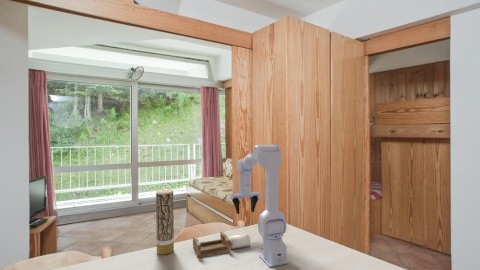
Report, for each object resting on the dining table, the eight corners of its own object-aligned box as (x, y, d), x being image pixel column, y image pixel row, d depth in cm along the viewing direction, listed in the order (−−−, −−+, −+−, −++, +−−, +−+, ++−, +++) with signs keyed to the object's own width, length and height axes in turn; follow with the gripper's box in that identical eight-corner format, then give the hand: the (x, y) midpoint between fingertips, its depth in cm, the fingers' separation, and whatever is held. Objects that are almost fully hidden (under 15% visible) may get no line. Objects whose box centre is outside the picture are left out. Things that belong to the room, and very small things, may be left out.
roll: (250, 247, 110) (250, 236, 110) (232, 251, 107) (231, 239, 107) (246, 243, 115) (246, 232, 115) (228, 246, 112) (228, 234, 112)
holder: (230, 252, 106) (230, 240, 106) (197, 258, 101) (197, 245, 101) (223, 242, 115) (223, 231, 115) (192, 247, 111) (192, 236, 111)
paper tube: (169, 256, 103) (168, 193, 103) (153, 254, 104) (152, 192, 104) (176, 248, 110) (176, 189, 110) (161, 247, 111) (161, 189, 111)
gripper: (255, 182, 132) (255, 208, 132) (228, 184, 127) (228, 212, 127) (261, 184, 126) (261, 212, 126) (232, 187, 121) (233, 216, 121)
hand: (245, 212), depth 126 cm, fingers open, 7 cm apart
